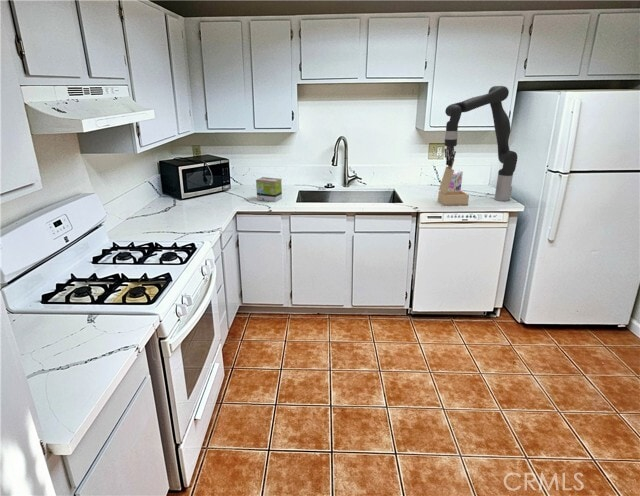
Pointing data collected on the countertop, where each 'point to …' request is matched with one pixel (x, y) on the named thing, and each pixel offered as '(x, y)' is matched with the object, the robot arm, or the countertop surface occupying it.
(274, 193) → the tea box
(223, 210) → the countertop surface
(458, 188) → the candy box
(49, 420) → the countertop surface
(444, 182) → the lid
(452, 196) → the base
